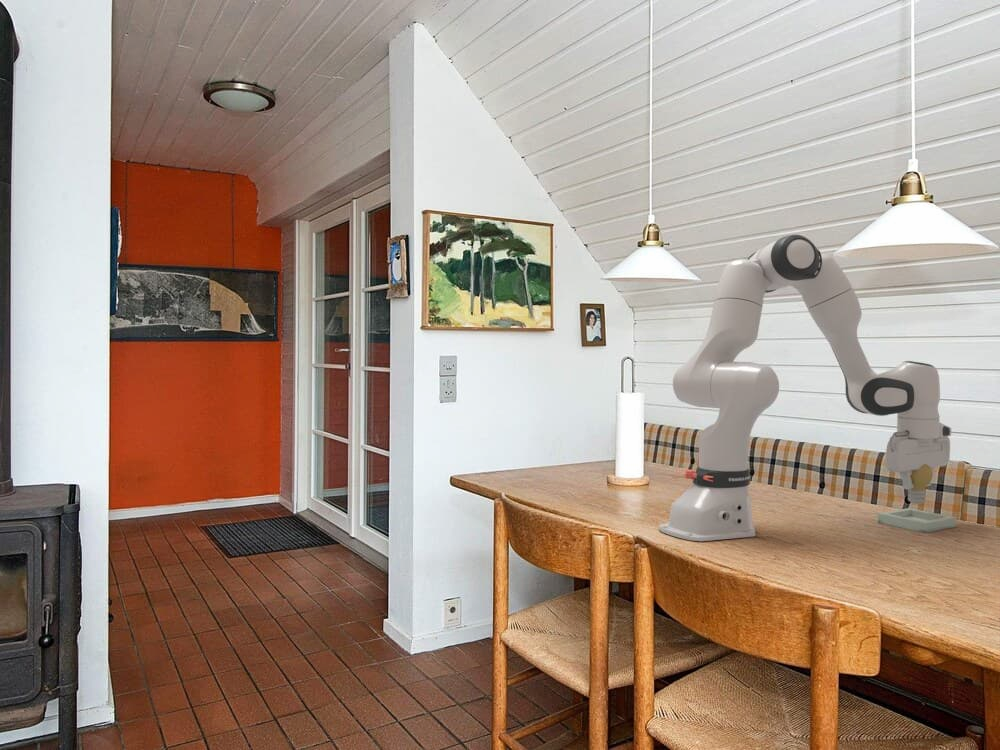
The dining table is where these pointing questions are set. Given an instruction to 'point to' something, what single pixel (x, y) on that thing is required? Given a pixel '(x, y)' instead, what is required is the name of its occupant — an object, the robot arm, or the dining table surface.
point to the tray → (917, 520)
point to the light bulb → (919, 484)
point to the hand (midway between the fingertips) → (916, 487)
